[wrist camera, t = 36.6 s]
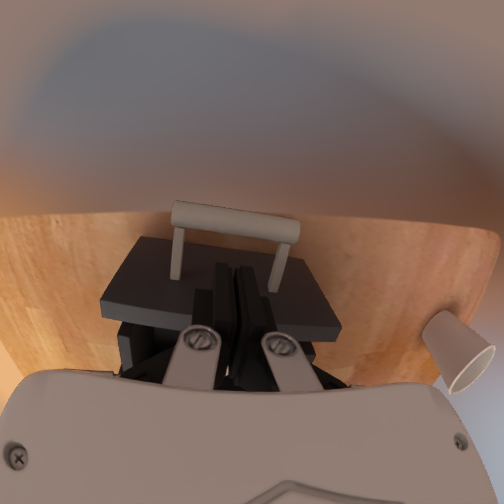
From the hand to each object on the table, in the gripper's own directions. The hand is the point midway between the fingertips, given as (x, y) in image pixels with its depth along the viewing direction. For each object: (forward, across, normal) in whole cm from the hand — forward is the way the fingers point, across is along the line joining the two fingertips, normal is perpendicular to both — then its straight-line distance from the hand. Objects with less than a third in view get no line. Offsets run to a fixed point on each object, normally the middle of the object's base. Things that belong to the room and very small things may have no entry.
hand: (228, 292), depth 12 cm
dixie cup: (+10, -31, +10) cm, 34 cm away
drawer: (+9, 0, +5) cm, 11 cm away
